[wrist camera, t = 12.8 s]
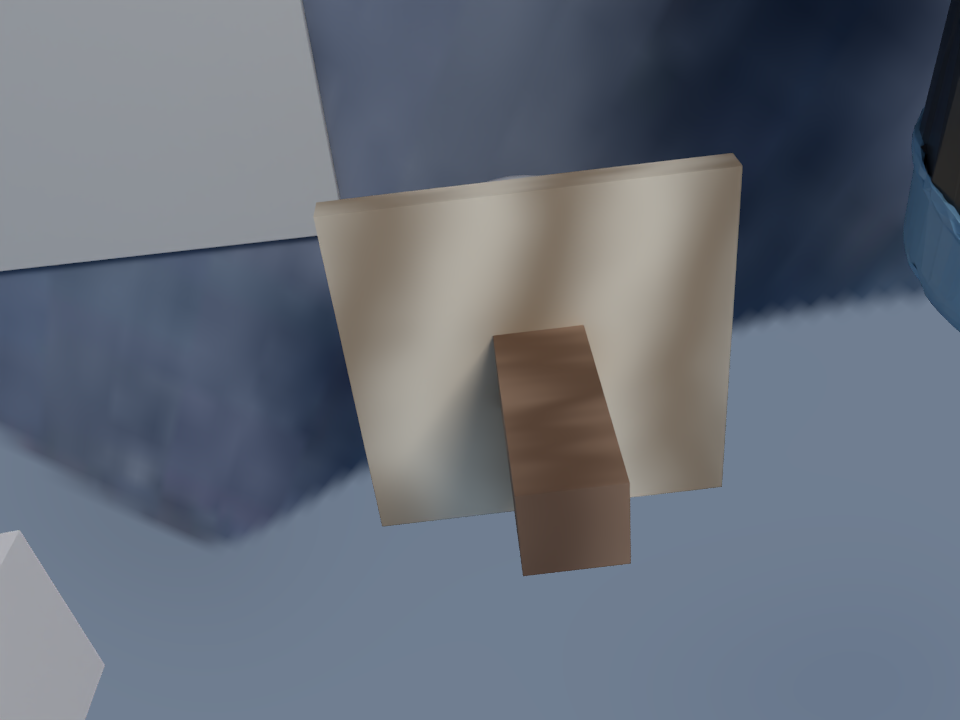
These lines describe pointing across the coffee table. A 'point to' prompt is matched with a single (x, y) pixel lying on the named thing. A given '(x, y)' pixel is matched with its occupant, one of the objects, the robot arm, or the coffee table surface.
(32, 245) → the mat
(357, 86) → the coffee table surface
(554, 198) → the board
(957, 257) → the robot arm
